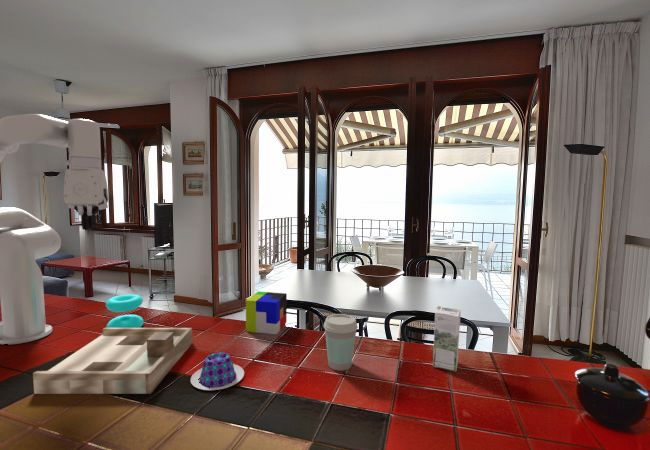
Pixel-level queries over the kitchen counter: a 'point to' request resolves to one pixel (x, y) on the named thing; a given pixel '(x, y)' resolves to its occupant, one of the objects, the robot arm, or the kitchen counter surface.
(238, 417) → the kitchen counter surface
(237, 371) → the pudding
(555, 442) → the kitchen counter surface
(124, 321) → the donuts
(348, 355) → the coffee cup
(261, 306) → the puzzle toy
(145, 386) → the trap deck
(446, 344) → the syrup box
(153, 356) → the walnut block
